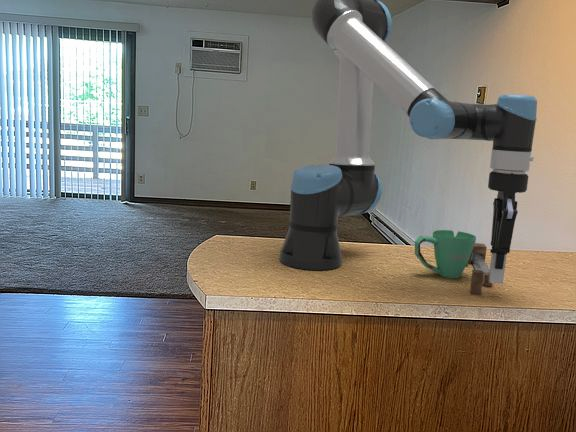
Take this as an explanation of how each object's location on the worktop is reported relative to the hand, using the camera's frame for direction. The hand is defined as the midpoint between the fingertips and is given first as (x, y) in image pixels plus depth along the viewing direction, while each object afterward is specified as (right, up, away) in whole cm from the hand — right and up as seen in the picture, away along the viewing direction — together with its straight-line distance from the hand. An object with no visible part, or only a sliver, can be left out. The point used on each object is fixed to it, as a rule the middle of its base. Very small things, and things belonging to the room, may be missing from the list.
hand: (495, 282), depth 119 cm
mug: (-8, 0, +14) cm, 16 cm away
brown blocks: (+1, 0, +15) cm, 15 cm away
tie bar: (+3, +1, +20) cm, 20 cm away
